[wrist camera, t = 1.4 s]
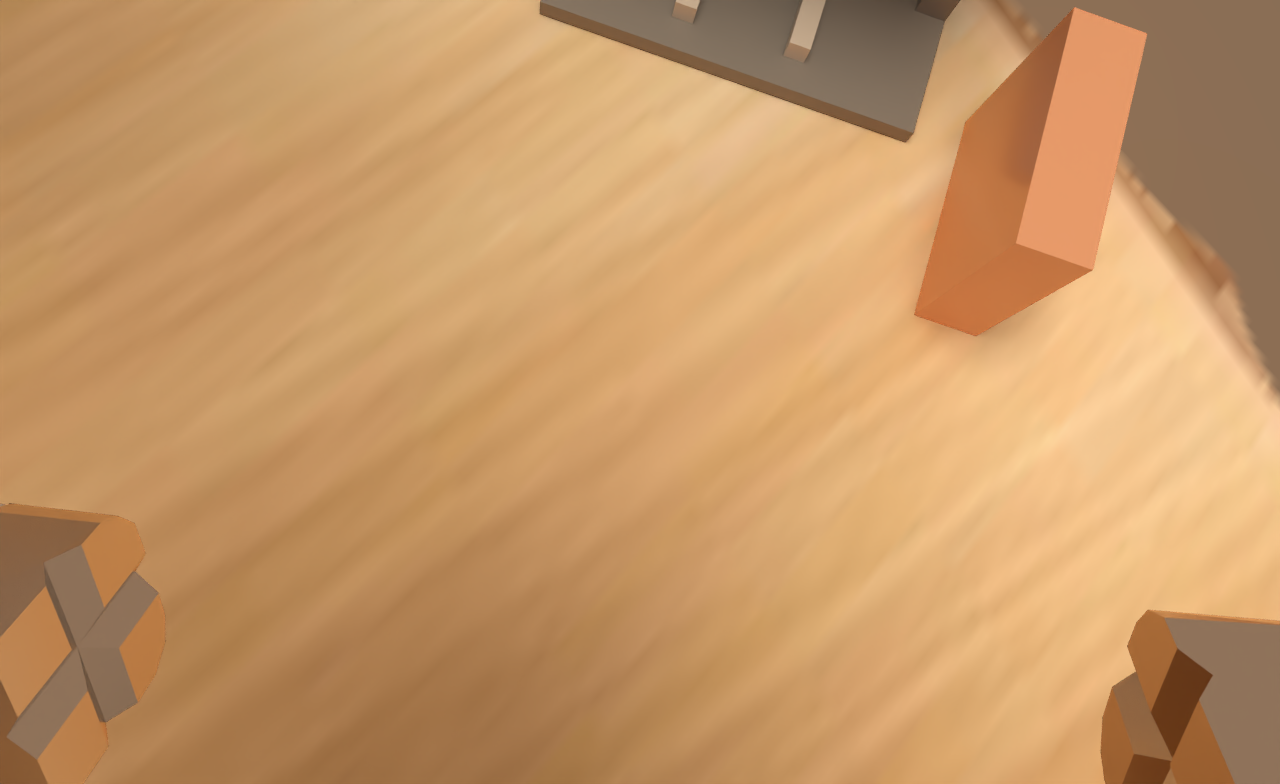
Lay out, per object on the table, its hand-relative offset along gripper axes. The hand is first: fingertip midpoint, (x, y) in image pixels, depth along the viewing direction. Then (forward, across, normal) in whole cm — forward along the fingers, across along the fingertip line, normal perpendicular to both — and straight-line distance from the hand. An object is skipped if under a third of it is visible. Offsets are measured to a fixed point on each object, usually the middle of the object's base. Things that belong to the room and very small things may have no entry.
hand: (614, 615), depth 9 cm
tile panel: (+40, -11, +13) cm, 44 cm away
